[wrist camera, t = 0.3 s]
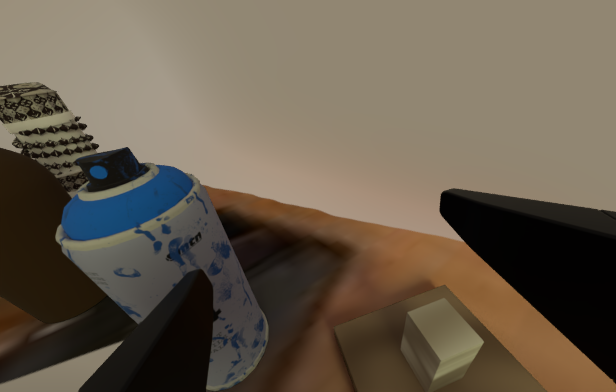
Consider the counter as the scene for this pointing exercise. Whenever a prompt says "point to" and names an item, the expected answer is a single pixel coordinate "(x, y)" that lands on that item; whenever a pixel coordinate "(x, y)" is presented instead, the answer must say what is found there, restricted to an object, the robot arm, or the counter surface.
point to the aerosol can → (162, 252)
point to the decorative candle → (46, 131)
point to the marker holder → (428, 350)
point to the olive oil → (38, 244)
